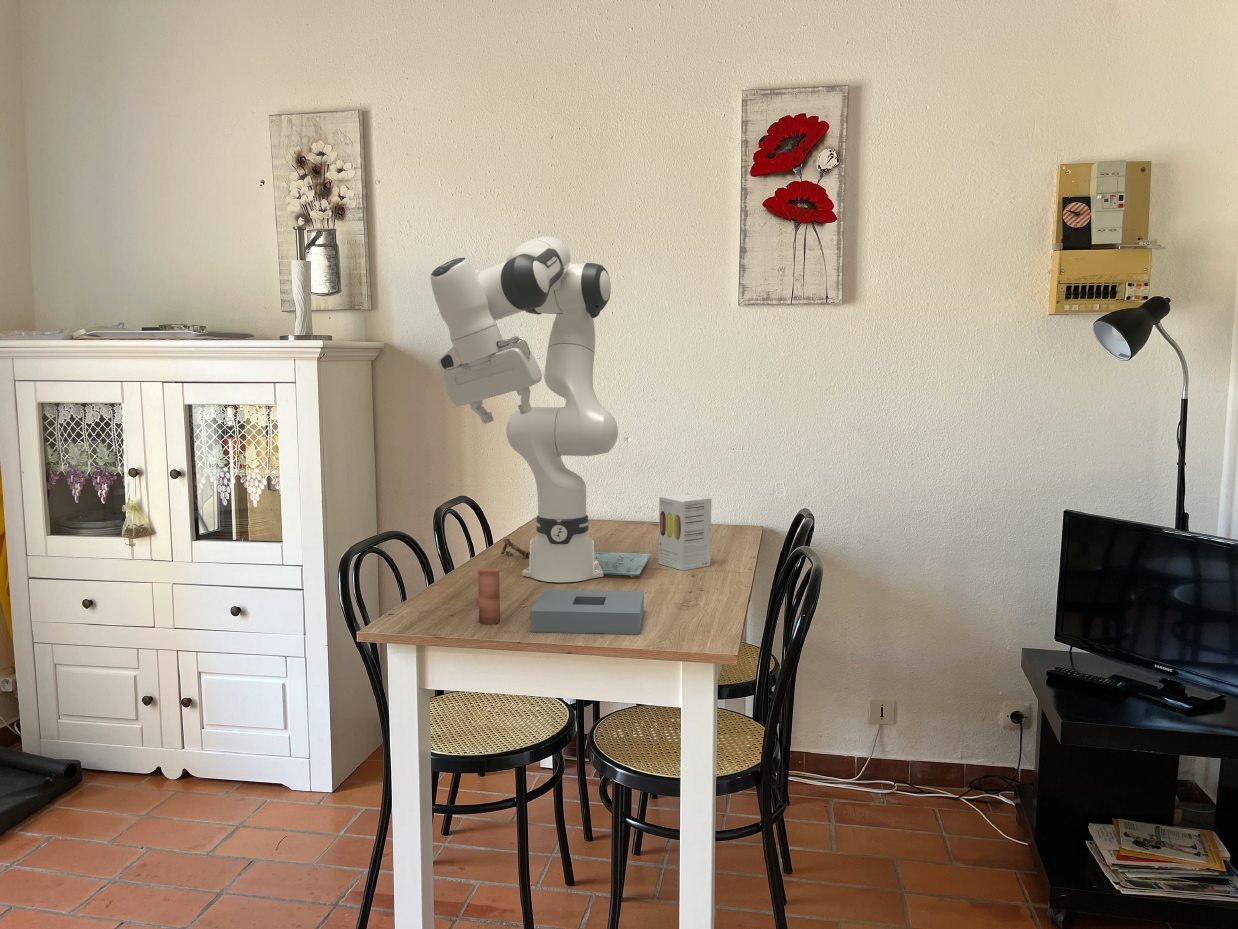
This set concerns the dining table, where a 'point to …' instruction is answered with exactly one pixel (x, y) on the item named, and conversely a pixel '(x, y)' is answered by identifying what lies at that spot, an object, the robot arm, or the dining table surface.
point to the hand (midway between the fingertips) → (507, 417)
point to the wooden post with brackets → (516, 548)
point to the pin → (489, 596)
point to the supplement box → (684, 531)
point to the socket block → (588, 611)
